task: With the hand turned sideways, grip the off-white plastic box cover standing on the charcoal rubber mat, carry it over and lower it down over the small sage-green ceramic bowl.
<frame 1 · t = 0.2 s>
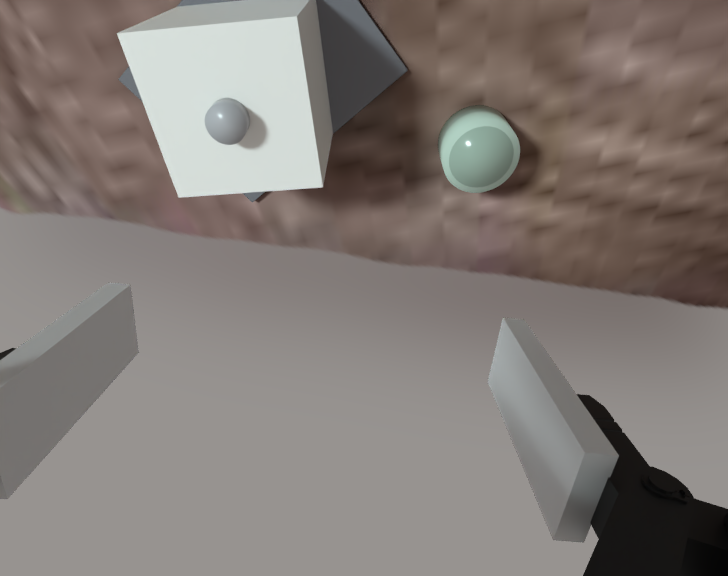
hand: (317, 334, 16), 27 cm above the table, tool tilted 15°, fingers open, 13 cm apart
bowl: (471, 138, 39), on the table
box cover: (261, 75, 35), resting on rubber mat
rubber mat: (262, 73, 36), on the table
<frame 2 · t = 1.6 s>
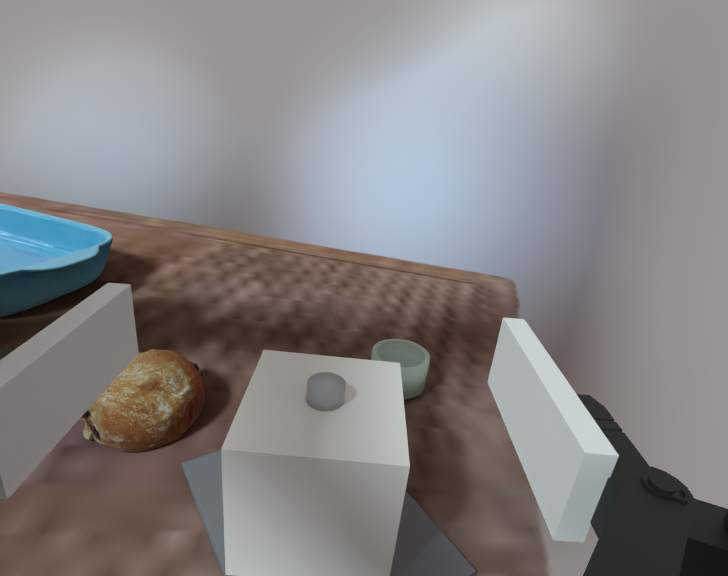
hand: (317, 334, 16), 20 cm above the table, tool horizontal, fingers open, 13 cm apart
bread roll: (149, 414, 41), on the table
bowl: (395, 387, 48), on the table
box cover: (316, 512, 32), resting on rubber mat
rubber mat: (315, 517, 33), on the table
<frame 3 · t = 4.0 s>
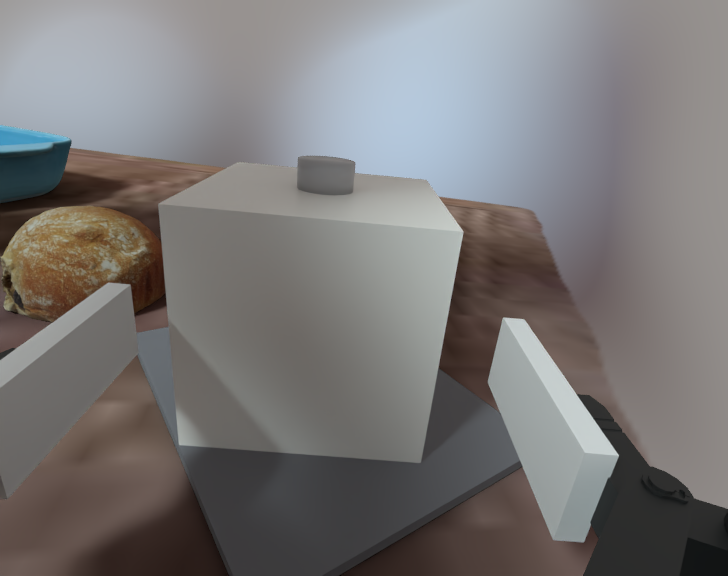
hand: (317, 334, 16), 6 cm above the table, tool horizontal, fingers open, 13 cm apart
bread roll: (97, 295, 32), on the table
box cover: (313, 383, 23), resting on rubber mat
rubber mat: (313, 391, 24), on the table
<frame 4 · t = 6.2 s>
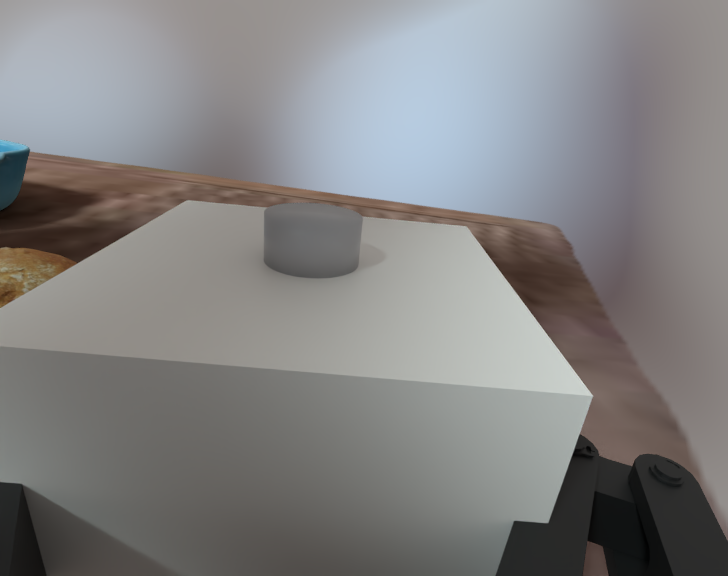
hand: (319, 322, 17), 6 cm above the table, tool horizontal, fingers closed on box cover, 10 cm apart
bread roll: (21, 362, 24), on the table
box cover: (297, 535, 15), point 1 cm above the table, touching gripper, rubber mat
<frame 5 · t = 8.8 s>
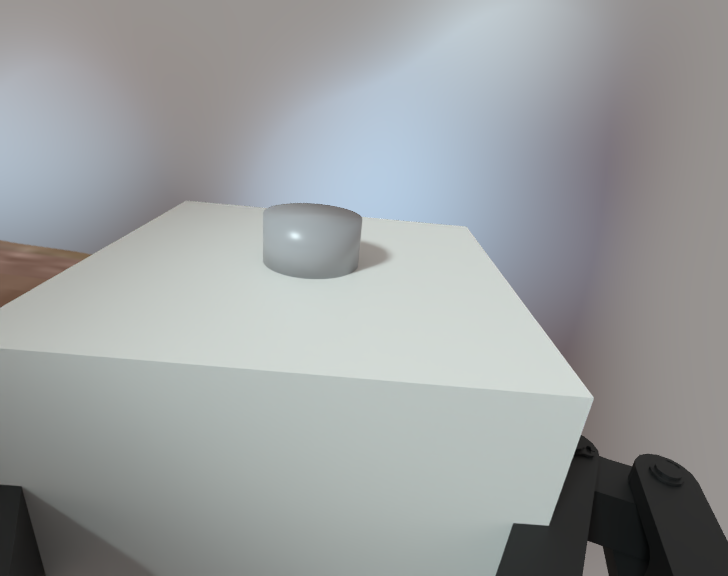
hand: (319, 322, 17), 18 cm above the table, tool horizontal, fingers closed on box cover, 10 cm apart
box cover: (297, 536, 15), point 12 cm above the table, touching gripper
when the fingers open (7 cm above the table, at t = 11.7 s): box cover drops 1 cm, on the table.
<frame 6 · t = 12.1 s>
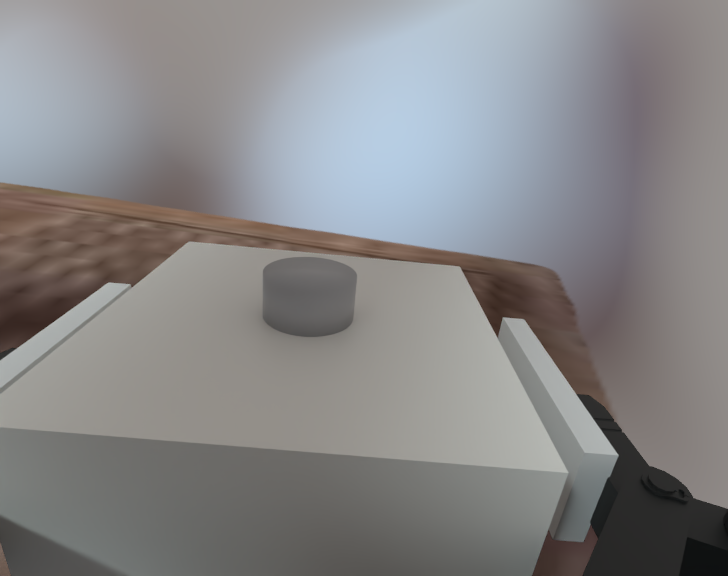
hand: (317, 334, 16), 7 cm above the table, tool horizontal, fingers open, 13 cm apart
box cover: (295, 567, 16), on the table
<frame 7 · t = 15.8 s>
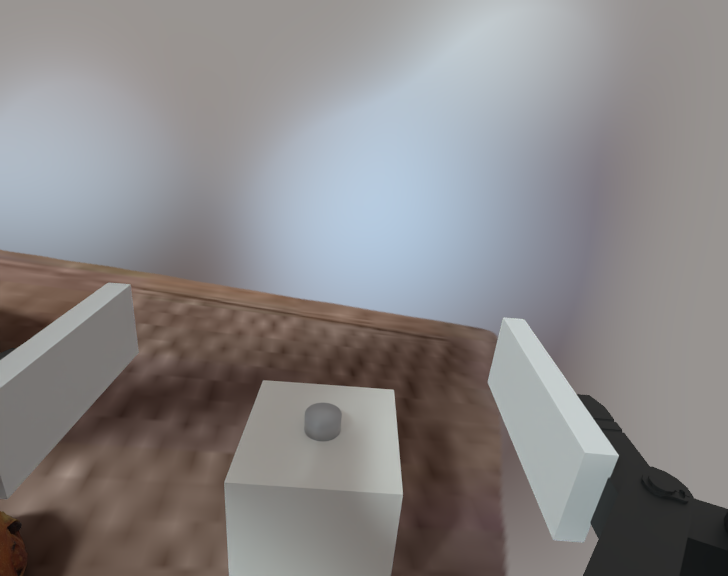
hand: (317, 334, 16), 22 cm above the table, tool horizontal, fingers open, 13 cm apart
box cover: (316, 536, 34), on the table
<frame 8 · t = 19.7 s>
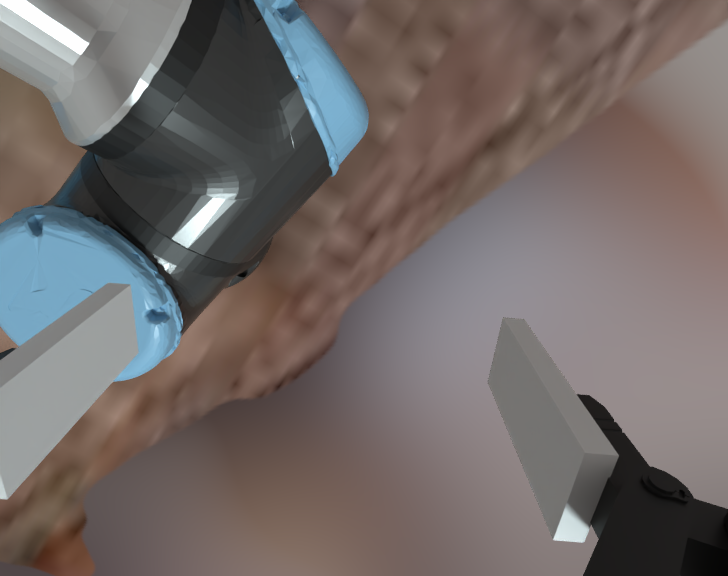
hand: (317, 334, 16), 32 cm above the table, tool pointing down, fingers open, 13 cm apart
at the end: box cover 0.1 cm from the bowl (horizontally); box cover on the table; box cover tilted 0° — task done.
